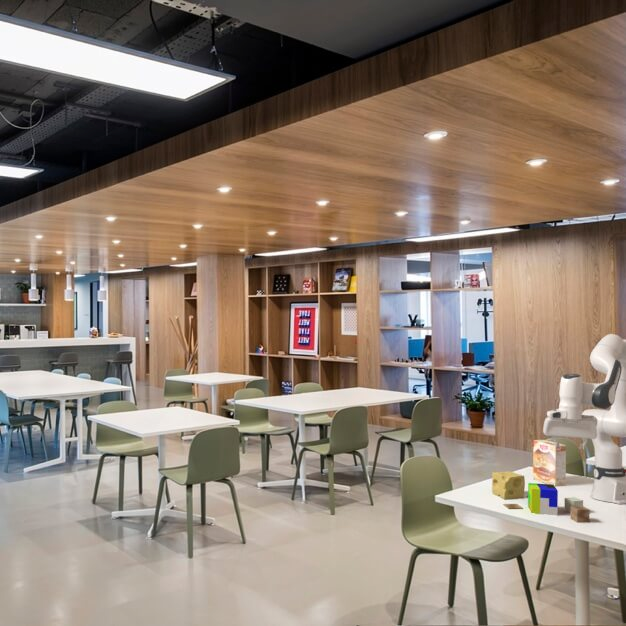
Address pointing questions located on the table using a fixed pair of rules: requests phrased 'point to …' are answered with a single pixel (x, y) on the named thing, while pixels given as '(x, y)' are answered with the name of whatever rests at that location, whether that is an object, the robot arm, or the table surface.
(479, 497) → the table surface
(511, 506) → the swatch tile
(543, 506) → the puzzle toy
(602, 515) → the table surface
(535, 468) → the coffeecake box
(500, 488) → the cheese
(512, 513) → the table surface
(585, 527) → the table surface
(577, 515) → the walnut block
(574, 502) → the sage block
